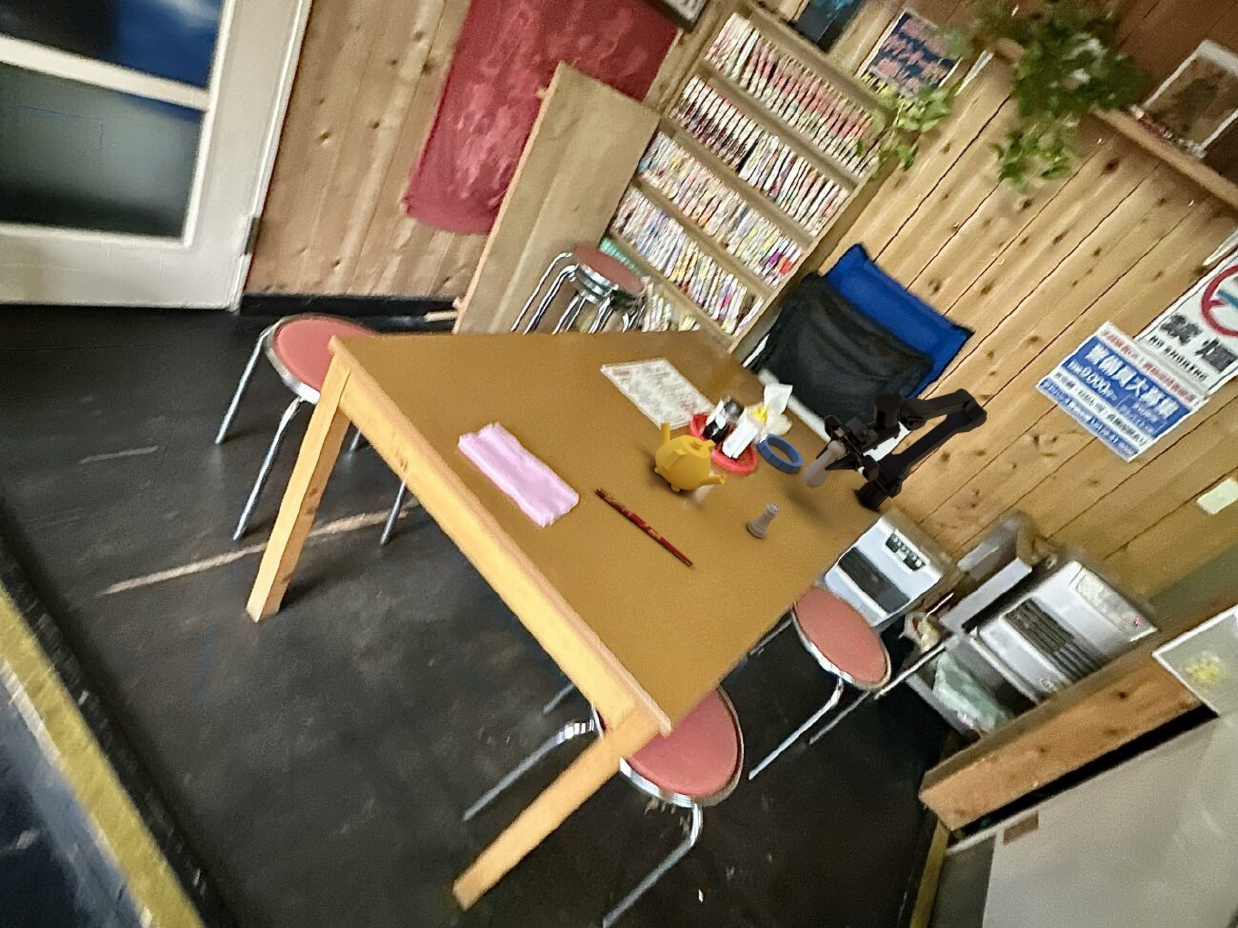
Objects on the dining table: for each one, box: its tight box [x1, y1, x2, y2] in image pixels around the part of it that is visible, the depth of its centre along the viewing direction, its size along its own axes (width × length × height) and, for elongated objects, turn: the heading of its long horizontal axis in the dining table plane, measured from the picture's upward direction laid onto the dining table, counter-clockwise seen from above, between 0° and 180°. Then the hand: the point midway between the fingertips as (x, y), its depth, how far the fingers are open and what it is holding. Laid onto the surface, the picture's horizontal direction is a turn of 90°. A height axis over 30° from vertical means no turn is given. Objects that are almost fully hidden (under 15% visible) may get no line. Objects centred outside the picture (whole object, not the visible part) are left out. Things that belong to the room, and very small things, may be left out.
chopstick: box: [595, 488, 694, 566], centre depth 148 cm, size 2×24×1 cm, turn 61°
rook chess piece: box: [747, 502, 781, 538], centre depth 166 cm, size 4×4×8 cm
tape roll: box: [757, 433, 804, 474], centre depth 202 cm, size 13×13×2 cm
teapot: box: [654, 422, 726, 493], centre depth 165 cm, size 20×18×11 cm
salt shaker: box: [801, 441, 847, 490], centre depth 182 cm, size 6×6×13 cm
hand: (820, 463), depth 181 cm, fingers closed on salt shaker, 3 cm apart
